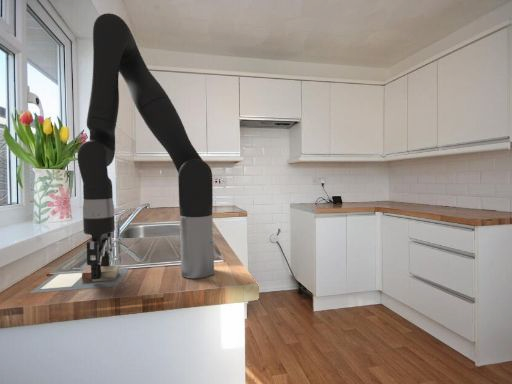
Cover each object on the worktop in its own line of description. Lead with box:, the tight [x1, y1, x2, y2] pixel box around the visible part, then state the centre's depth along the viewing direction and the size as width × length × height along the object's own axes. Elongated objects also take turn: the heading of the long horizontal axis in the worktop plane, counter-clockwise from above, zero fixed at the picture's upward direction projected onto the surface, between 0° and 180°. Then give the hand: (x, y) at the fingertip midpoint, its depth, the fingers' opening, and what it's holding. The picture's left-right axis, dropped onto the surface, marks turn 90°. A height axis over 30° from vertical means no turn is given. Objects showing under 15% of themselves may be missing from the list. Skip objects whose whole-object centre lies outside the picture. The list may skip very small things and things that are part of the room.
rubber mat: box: [29, 267, 130, 294], centre depth 80 cm, size 20×15×1 cm
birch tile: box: [82, 264, 120, 282], centre depth 81 cm, size 8×5×2 cm, turn 103°
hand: (101, 273), depth 81 cm, fingers open, 8 cm apart
